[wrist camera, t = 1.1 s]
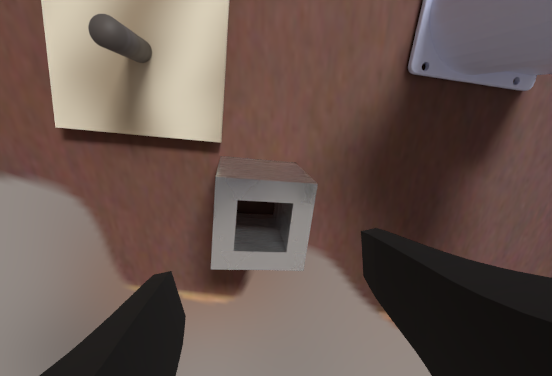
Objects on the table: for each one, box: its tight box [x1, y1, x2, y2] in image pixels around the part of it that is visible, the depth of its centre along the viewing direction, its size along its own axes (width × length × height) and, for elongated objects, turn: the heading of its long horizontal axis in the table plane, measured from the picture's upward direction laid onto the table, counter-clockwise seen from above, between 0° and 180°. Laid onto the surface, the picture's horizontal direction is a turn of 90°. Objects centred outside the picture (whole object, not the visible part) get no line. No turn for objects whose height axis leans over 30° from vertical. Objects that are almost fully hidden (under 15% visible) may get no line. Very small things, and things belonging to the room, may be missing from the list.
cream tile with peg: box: [41, 0, 229, 143], centre depth 13 cm, size 9×9×5 cm
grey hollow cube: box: [211, 156, 317, 271], centre depth 16 cm, size 5×5×5 cm
